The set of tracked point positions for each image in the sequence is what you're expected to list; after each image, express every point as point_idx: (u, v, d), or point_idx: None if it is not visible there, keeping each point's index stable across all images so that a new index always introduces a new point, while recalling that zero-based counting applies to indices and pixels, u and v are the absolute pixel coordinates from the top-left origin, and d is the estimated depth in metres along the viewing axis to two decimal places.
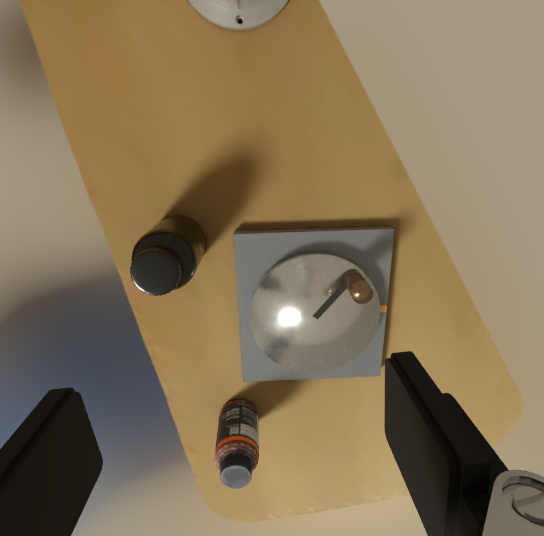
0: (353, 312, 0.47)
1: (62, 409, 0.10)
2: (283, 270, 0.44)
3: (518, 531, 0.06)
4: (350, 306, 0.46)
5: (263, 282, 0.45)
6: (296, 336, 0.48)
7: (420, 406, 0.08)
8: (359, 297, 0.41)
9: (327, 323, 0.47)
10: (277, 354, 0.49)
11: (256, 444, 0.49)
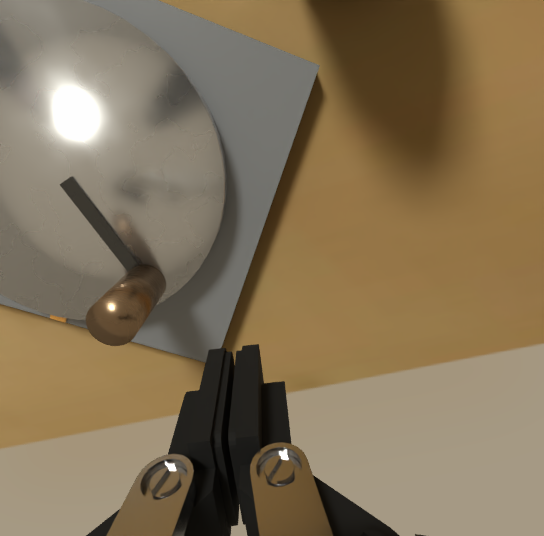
0: (61, 264, 0.21)
1: (229, 364, 0.11)
2: (206, 149, 0.19)
3: (278, 501, 0.07)
4: (79, 263, 0.21)
5: (190, 88, 0.18)
6: (19, 116, 0.18)
7: (236, 391, 0.10)
8: (106, 316, 0.17)
9: (44, 203, 0.20)
10: None
11: None
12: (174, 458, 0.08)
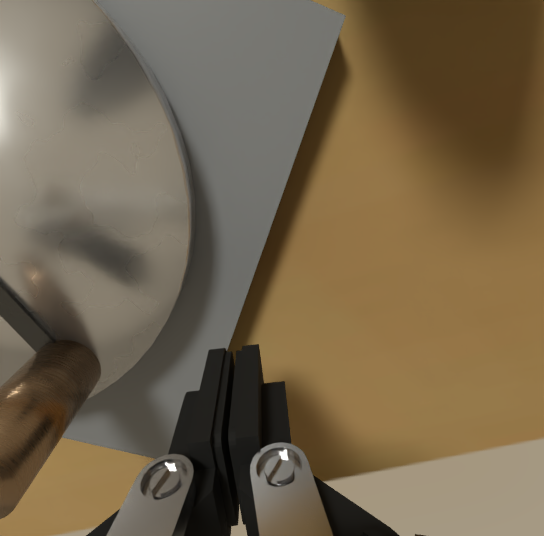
0: None
1: (229, 364, 0.11)
2: (154, 155, 0.11)
3: (278, 500, 0.07)
4: None
5: (122, 49, 0.10)
6: None
7: (236, 391, 0.10)
8: None
9: None
10: None
11: None
12: (174, 458, 0.08)
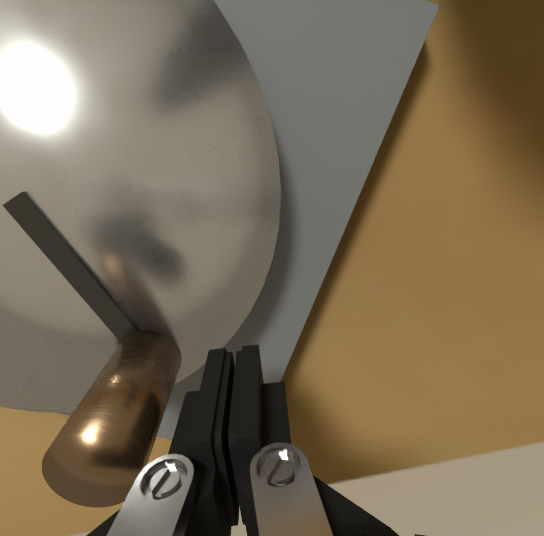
0: (13, 332, 0.13)
1: (229, 364, 0.11)
2: (253, 145, 0.11)
3: (278, 501, 0.07)
4: (41, 330, 0.13)
5: (231, 38, 0.10)
6: None
7: (236, 391, 0.10)
8: (81, 461, 0.09)
9: None
10: None
11: None
12: (174, 458, 0.08)
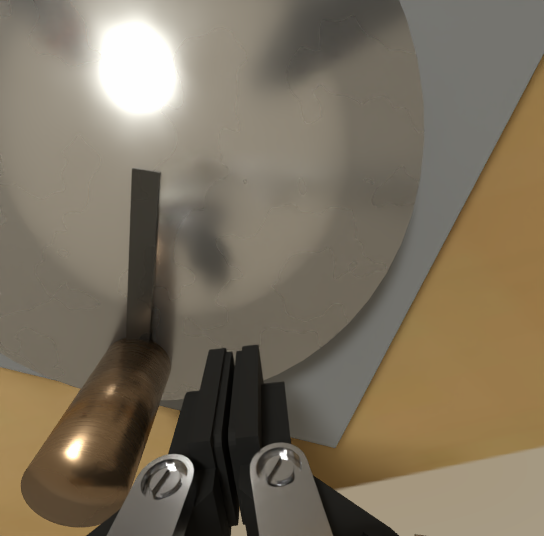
0: (30, 264, 0.12)
1: (229, 364, 0.11)
2: (361, 279, 0.13)
3: (278, 501, 0.07)
4: (61, 281, 0.12)
5: (409, 204, 0.12)
6: (157, 32, 0.10)
7: (236, 391, 0.10)
8: (76, 478, 0.08)
9: (82, 170, 0.11)
10: None
11: None
12: (174, 458, 0.08)
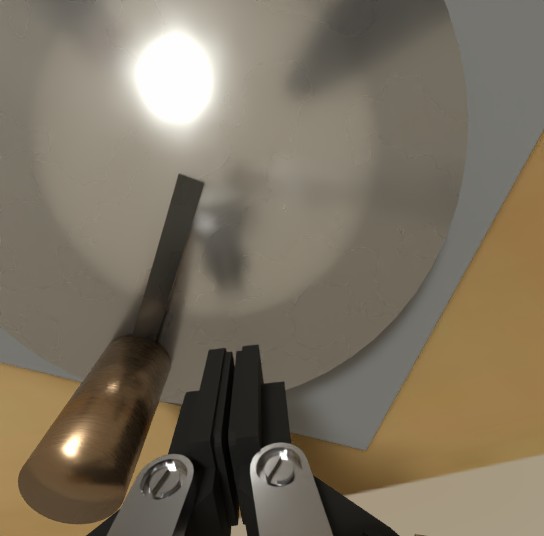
0: (53, 245, 0.12)
1: (229, 364, 0.11)
2: (371, 318, 0.13)
3: (278, 500, 0.07)
4: (80, 268, 0.12)
5: (431, 258, 0.12)
6: (234, 51, 0.10)
7: (236, 391, 0.10)
8: (77, 475, 0.08)
9: (128, 165, 0.11)
10: None
11: None
12: (174, 458, 0.08)
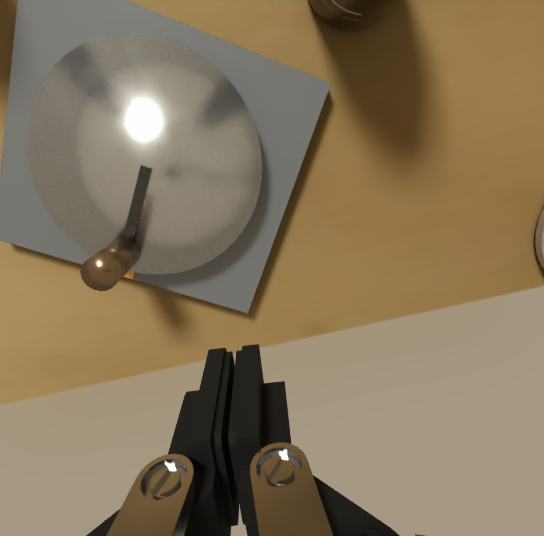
0: (89, 195, 0.27)
1: (229, 364, 0.11)
2: (231, 231, 0.28)
3: (279, 500, 0.07)
4: (100, 205, 0.27)
5: (254, 203, 0.28)
6: (161, 117, 0.26)
7: (236, 391, 0.10)
8: (101, 268, 0.24)
9: (120, 161, 0.26)
10: (178, 63, 0.24)
11: None
12: (174, 458, 0.08)
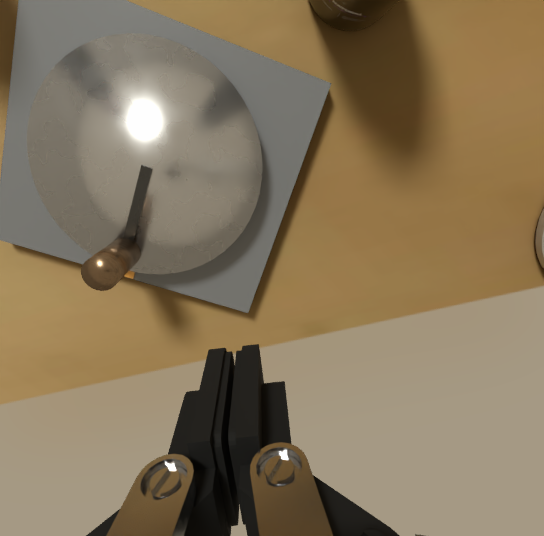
0: (89, 195, 0.27)
1: (229, 364, 0.11)
2: (231, 231, 0.29)
3: (278, 501, 0.07)
4: (100, 205, 0.27)
5: (254, 202, 0.28)
6: (161, 117, 0.26)
7: (236, 391, 0.10)
8: (101, 268, 0.24)
9: (120, 161, 0.26)
10: (179, 63, 0.24)
11: None
12: (174, 458, 0.08)
